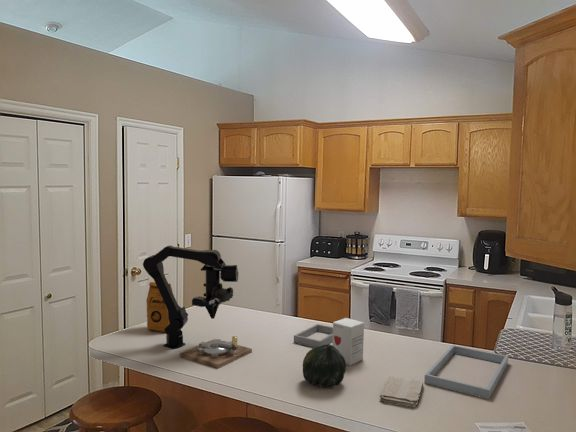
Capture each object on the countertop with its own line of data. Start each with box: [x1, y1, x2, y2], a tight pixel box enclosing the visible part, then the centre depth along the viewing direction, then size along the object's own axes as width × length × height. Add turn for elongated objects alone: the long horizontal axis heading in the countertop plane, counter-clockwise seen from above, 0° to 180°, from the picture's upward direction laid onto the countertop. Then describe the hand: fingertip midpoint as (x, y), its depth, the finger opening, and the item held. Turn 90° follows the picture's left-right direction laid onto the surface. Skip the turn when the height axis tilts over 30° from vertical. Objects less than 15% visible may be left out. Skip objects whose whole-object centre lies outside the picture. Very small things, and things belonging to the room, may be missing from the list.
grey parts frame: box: [293, 323, 333, 348], centre depth 209 cm, size 13×20×3 cm, turn 147°
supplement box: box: [332, 317, 365, 366], centre depth 185 cm, size 9×9×15 cm
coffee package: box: [146, 281, 174, 333], centre depth 218 cm, size 10×12×22 cm
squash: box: [302, 343, 347, 389], centre depth 163 cm, size 14×15×15 cm
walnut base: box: [179, 338, 253, 369], centre depth 189 cm, size 20×20×2 cm
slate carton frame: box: [423, 344, 509, 400], centre depth 174 cm, size 21×36×3 cm, turn 147°
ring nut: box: [198, 335, 238, 358], centre depth 188 cm, size 14×17×7 cm
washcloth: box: [379, 376, 424, 409], centre depth 157 cm, size 12×18×3 cm, turn 158°
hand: (212, 318), depth 197 cm, fingers closed
